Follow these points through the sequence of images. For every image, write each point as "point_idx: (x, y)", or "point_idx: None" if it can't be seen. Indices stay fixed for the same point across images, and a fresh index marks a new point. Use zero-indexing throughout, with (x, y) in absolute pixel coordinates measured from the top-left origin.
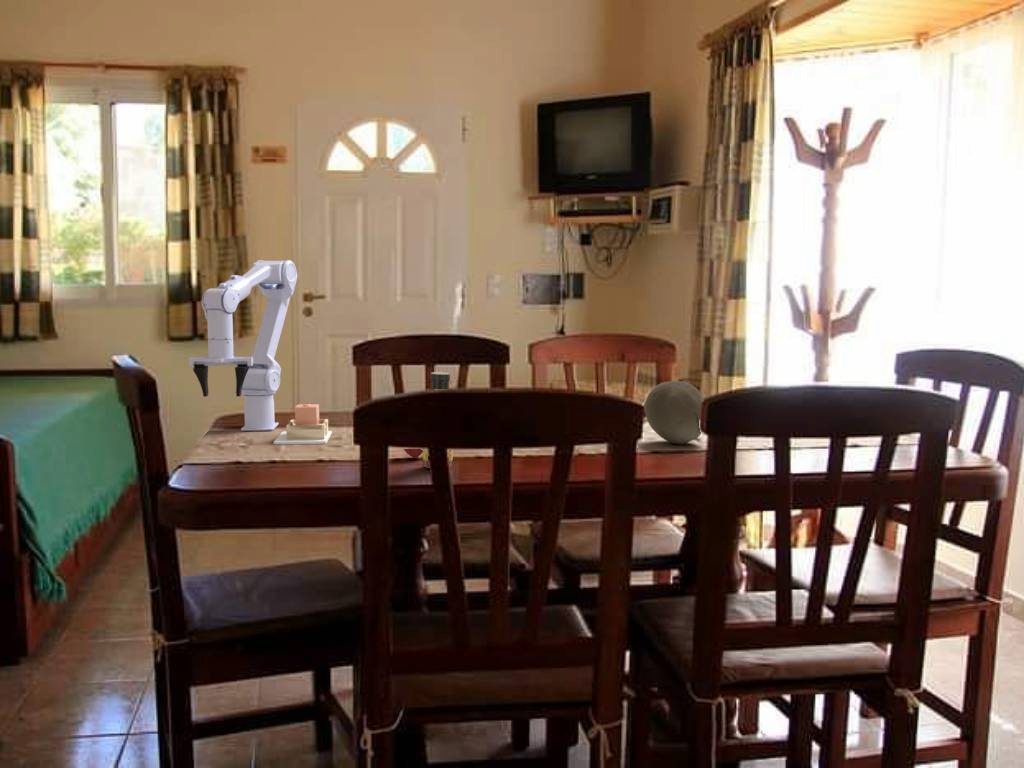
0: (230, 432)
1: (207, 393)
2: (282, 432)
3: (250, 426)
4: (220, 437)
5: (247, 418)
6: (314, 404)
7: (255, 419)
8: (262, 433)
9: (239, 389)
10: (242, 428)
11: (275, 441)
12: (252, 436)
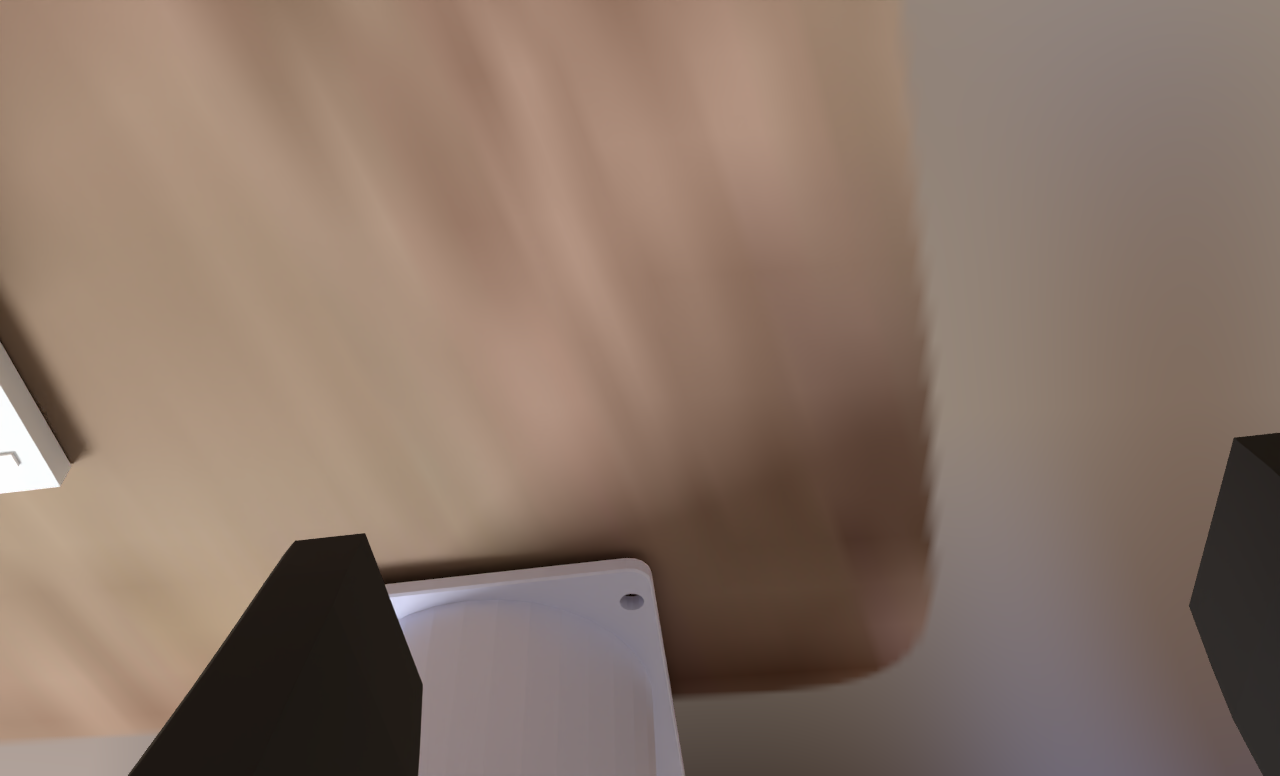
0: (750, 495)
1: (1235, 595)
2: (12, 423)
3: (547, 623)
4: (785, 198)
5: (587, 712)
6: None
7: (473, 690)
8: (339, 471)
9: (193, 686)
10: (638, 594)
11: None
12: (370, 293)
